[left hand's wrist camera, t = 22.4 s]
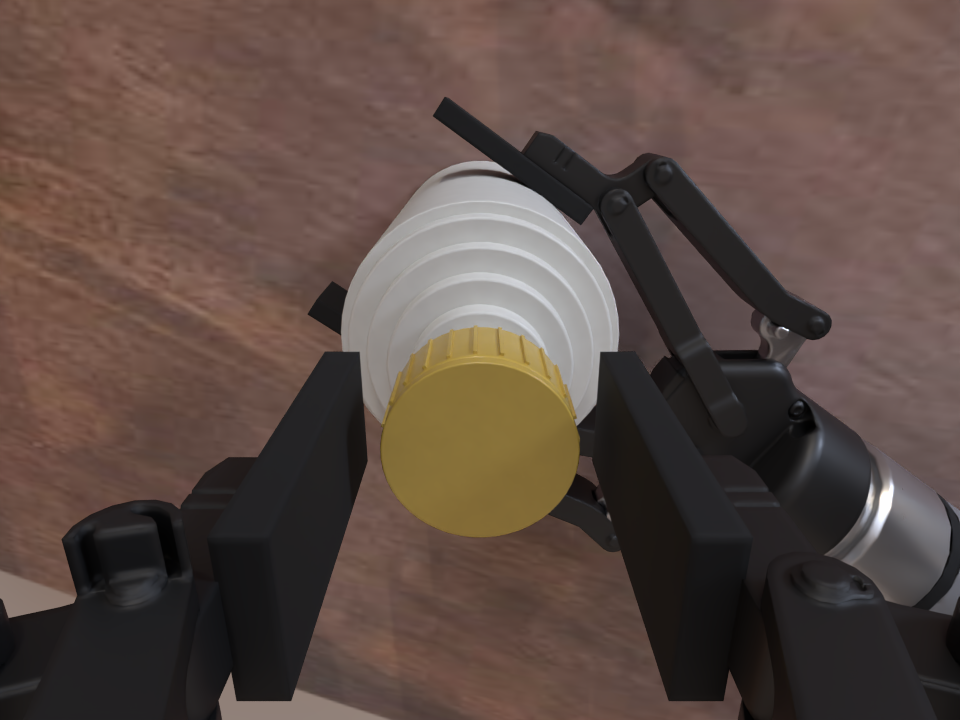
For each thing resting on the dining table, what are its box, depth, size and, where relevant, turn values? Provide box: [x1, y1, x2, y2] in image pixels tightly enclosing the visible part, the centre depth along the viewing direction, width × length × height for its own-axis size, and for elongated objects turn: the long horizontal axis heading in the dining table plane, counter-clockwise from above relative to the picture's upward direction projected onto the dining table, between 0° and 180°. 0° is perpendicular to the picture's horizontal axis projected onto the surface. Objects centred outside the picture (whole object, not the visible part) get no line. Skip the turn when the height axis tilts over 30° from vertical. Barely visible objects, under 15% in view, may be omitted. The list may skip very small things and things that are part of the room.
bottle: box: [341, 161, 619, 426], centre depth 22 cm, size 8×8×20 cm
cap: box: [380, 325, 580, 538], centre depth 14 cm, size 4×4×2 cm
